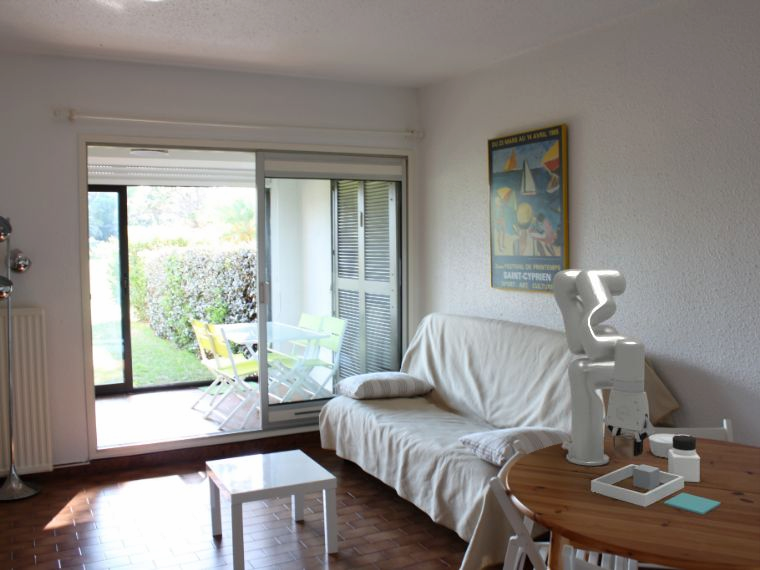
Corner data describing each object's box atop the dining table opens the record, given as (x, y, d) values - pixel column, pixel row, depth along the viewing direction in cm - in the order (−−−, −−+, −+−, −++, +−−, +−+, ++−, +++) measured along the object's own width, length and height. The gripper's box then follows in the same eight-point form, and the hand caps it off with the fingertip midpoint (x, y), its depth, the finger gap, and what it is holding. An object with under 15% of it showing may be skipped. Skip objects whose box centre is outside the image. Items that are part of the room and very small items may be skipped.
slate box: (633, 486, 197) (633, 468, 197) (642, 481, 200) (642, 464, 200) (650, 490, 193) (650, 472, 193) (659, 486, 197) (659, 468, 196)
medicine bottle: (700, 482, 198) (700, 440, 198) (673, 481, 200) (673, 439, 199) (694, 474, 205) (694, 433, 205) (668, 473, 207) (668, 432, 206)
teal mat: (663, 504, 183) (663, 502, 183) (682, 494, 190) (682, 492, 190) (702, 514, 175) (702, 512, 175) (720, 504, 182) (720, 502, 182)
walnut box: (614, 454, 191) (614, 436, 191) (624, 450, 194) (624, 432, 194) (631, 459, 187) (632, 440, 187) (641, 454, 191) (641, 436, 190)
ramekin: (643, 455, 224) (643, 439, 224) (656, 447, 233) (656, 431, 232) (680, 462, 217) (680, 445, 217) (691, 453, 226) (692, 437, 225)
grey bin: (591, 491, 193) (591, 480, 193) (631, 474, 206) (631, 464, 206) (645, 507, 181) (645, 495, 181) (684, 487, 195) (684, 476, 194)
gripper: (592, 382, 193) (592, 448, 195) (652, 393, 180) (650, 463, 182) (607, 378, 198) (607, 442, 200) (666, 388, 185) (665, 457, 187)
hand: (628, 451), depth 191 cm, fingers closed on walnut box, 5 cm apart
